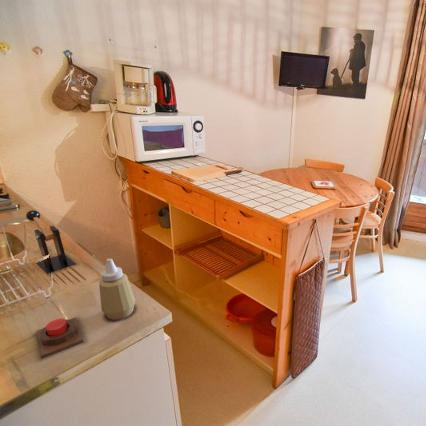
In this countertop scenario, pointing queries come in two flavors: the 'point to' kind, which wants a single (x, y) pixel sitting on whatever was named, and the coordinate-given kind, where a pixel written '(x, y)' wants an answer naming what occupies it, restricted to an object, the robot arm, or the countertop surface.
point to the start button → (56, 327)
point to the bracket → (54, 262)
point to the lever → (40, 224)
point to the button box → (59, 339)
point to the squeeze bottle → (115, 292)
